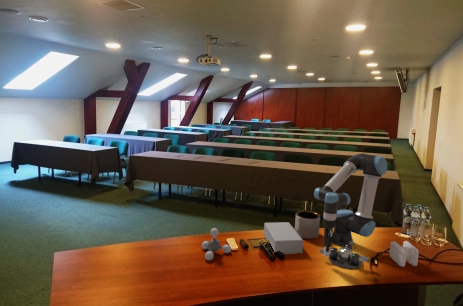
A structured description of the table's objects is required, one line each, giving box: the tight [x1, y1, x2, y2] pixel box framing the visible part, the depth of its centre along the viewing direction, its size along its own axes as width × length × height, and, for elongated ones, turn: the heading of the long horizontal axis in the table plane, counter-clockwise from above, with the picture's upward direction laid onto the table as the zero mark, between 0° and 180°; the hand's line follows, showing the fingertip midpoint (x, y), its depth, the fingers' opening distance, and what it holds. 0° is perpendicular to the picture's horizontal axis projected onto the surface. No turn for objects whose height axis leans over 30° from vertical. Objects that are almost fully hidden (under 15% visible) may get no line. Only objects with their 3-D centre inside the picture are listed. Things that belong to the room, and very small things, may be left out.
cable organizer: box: [389, 240, 420, 268], centre depth 201 cm, size 15×11×12 cm
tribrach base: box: [328, 246, 363, 270], centre depth 202 cm, size 20×20×8 cm
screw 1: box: [344, 241, 354, 250], centre depth 210 cm, size 10×4×6 cm, turn 148°
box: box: [263, 221, 304, 255], centre depth 223 cm, size 19×30×10 cm, turn 8°
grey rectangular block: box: [320, 247, 339, 260], centre depth 202 cm, size 10×4×6 cm, turn 88°
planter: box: [294, 210, 321, 240], centre depth 238 cm, size 18×18×16 cm
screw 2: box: [351, 252, 371, 266], centre depth 194 cm, size 10×4×6 cm, turn 69°
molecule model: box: [201, 227, 232, 261], centre depth 206 cm, size 20×16×20 cm
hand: (326, 255), depth 196 cm, fingers closed
